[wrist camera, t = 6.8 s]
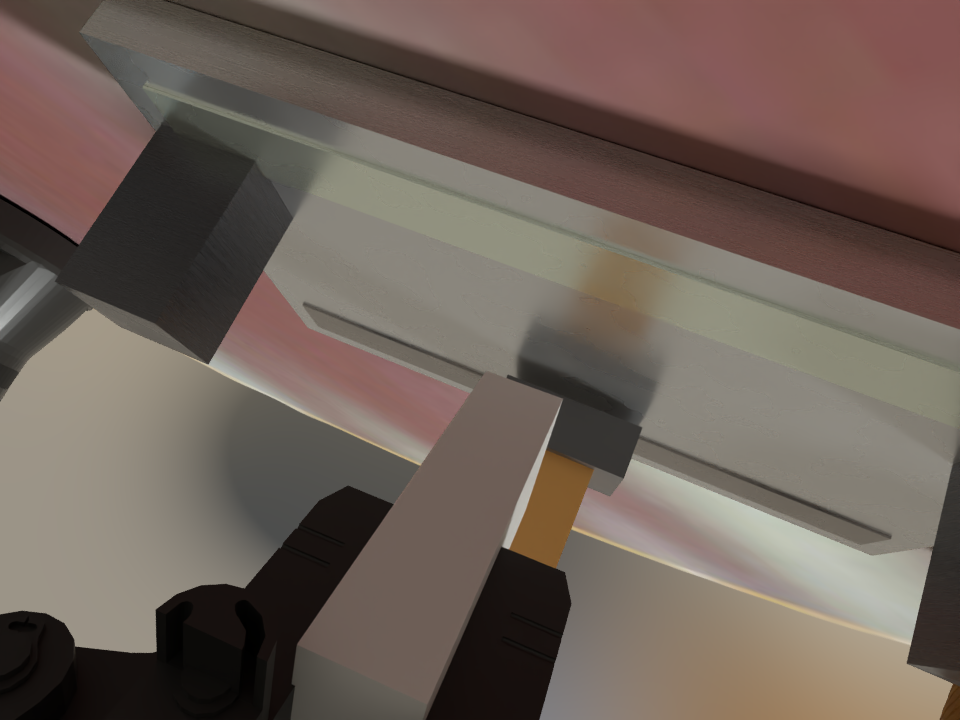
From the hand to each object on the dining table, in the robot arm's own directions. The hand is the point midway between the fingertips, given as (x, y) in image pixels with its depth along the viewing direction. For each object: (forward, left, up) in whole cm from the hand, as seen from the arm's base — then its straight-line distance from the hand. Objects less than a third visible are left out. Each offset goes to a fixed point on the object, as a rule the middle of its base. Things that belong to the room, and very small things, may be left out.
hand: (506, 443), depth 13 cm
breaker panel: (0, -8, -6) cm, 10 cm away
